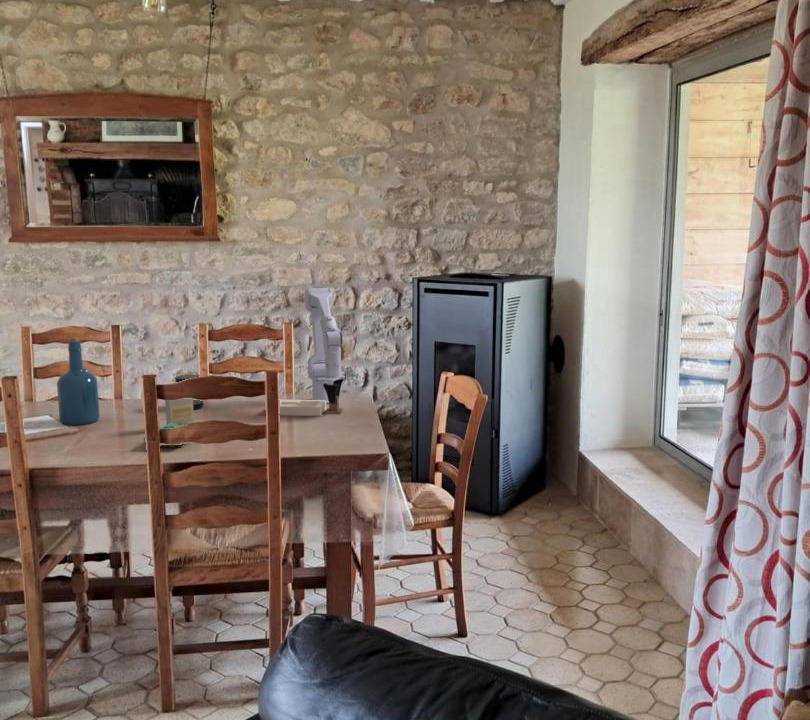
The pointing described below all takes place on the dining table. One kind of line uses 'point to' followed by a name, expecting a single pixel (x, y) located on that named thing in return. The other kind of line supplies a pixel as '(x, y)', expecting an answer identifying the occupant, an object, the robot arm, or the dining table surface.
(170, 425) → the puzzle game
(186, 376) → the supplement container
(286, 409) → the cream rectangular tray
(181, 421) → the supplement box
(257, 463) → the dining table surface
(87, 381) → the wine bottle
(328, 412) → the keyhole slider
